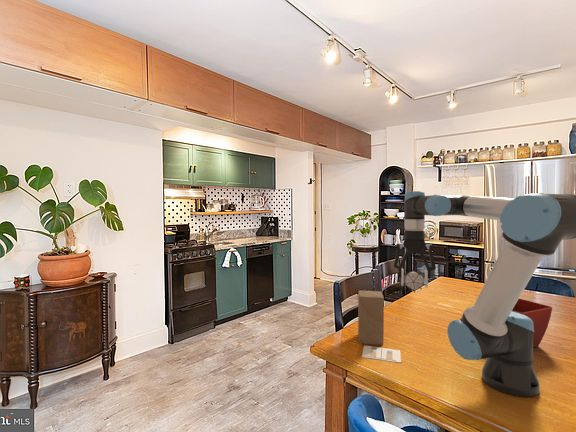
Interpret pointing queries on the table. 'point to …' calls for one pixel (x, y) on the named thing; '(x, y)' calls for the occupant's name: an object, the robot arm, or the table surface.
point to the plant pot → (535, 317)
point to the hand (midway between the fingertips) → (414, 285)
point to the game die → (414, 280)
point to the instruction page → (382, 354)
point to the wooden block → (370, 317)
